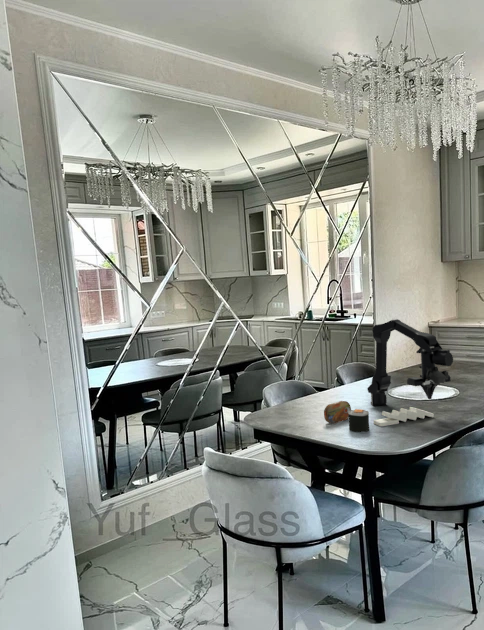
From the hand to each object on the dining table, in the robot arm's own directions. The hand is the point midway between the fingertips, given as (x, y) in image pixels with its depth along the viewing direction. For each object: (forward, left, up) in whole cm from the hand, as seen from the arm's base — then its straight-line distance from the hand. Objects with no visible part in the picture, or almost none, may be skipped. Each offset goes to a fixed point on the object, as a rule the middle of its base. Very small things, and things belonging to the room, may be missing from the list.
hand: (429, 399), depth 211 cm
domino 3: (-8, -3, -7) cm, 11 cm away
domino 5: (0, 0, -7) cm, 7 cm away
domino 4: (-5, -2, -7) cm, 8 cm away
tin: (-40, -2, -8) cm, 41 cm away
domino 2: (-13, -5, -7) cm, 16 cm away
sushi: (-33, -15, -8) cm, 37 cm away
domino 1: (-17, -7, -7) cm, 19 cm away
